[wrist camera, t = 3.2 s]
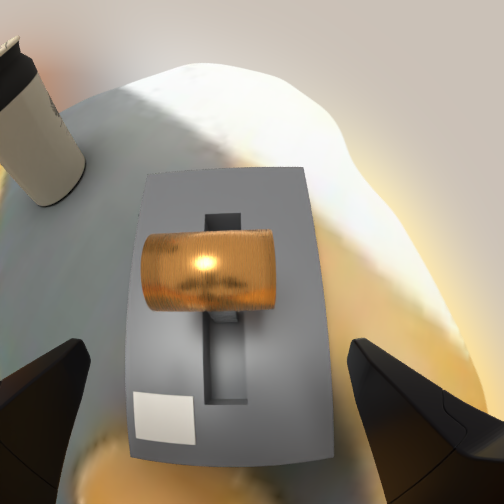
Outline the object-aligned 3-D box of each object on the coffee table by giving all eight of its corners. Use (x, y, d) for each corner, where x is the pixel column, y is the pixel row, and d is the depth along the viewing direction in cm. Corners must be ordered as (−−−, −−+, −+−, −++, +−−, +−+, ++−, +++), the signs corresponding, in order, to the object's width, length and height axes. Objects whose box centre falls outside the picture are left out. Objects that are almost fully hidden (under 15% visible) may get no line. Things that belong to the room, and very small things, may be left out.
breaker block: (317, 441, 16) (334, 458, 12) (151, 443, 15) (129, 457, 11) (295, 196, 24) (303, 165, 20) (160, 202, 23) (146, 172, 19)
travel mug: (37, 220, 23) (-59, 108, 6) (32, 178, 25) (-37, 78, 9) (92, 180, 25) (15, 40, 8) (80, 143, 27) (25, 28, 11)
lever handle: (263, 333, 18) (278, 298, 9) (191, 335, 18) (137, 300, 9) (260, 287, 19) (271, 213, 10) (191, 289, 19) (146, 219, 10)
